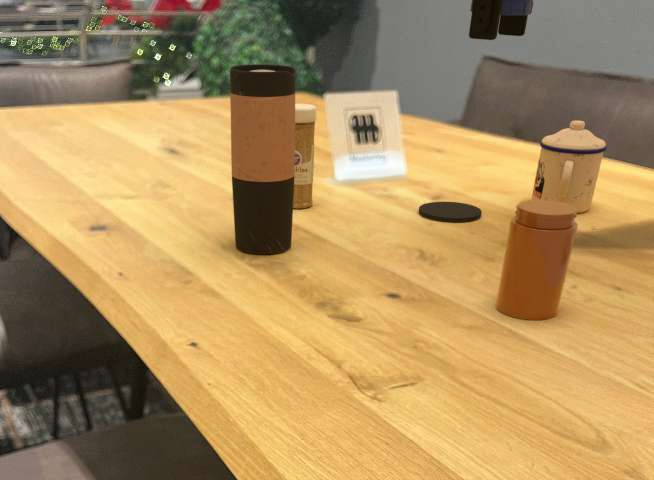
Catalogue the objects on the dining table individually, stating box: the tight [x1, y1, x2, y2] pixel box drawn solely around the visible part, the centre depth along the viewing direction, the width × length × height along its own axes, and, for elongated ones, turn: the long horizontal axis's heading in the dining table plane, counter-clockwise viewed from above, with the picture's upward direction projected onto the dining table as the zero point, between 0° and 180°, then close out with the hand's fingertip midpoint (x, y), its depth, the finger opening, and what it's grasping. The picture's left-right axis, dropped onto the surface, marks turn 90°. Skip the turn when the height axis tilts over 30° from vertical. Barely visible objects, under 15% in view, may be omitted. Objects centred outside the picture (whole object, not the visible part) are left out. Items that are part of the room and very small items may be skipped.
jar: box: [495, 199, 579, 321], centre depth 78 cm, size 6×6×10 cm
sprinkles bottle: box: [293, 103, 317, 209], centre depth 110 cm, size 5×5×13 cm
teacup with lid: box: [530, 119, 607, 214], centre depth 110 cm, size 12×9×12 cm
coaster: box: [418, 201, 483, 223], centre depth 111 cm, size 9×9×1 cm
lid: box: [469, 0, 534, 16], centre depth 87 cm, size 7×7×2 cm
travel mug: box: [229, 63, 297, 256], centre depth 92 cm, size 8×8×20 cm
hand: (497, 35), depth 88 cm, fingers closed on lid, 6 cm apart
